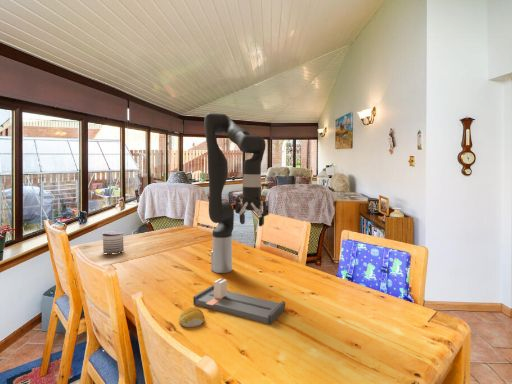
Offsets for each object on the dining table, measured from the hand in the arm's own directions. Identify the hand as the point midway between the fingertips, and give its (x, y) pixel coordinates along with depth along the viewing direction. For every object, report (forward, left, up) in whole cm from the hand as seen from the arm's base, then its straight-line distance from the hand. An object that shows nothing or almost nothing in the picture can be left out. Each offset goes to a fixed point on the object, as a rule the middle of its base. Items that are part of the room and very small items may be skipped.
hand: (251, 224), depth 132 cm
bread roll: (-5, -33, -28) cm, 43 cm away
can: (-96, +10, -28) cm, 101 cm away
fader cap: (-4, -16, -25) cm, 30 cm away
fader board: (+4, -16, -27) cm, 32 cm away
